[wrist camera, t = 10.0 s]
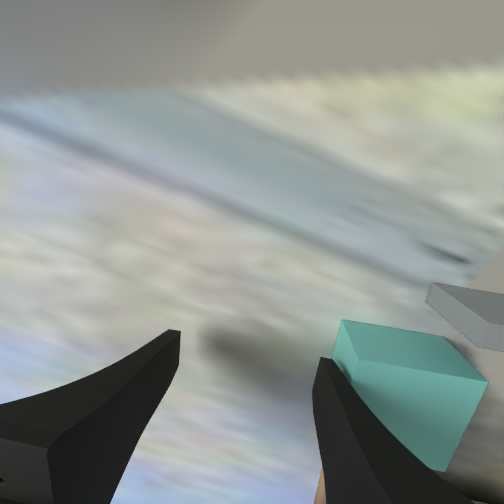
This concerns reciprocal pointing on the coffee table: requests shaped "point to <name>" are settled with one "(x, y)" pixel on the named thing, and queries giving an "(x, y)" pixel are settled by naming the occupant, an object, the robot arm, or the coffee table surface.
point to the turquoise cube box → (411, 386)
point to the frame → (471, 313)
